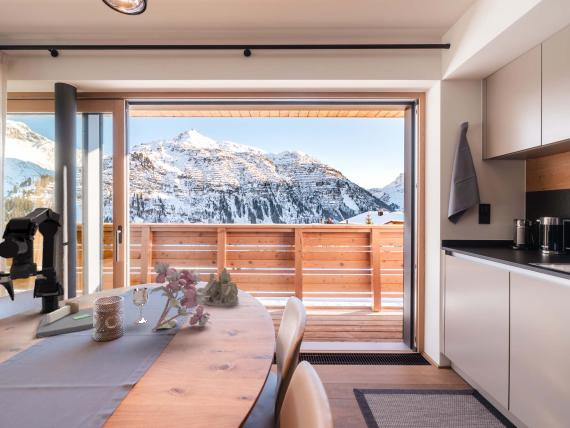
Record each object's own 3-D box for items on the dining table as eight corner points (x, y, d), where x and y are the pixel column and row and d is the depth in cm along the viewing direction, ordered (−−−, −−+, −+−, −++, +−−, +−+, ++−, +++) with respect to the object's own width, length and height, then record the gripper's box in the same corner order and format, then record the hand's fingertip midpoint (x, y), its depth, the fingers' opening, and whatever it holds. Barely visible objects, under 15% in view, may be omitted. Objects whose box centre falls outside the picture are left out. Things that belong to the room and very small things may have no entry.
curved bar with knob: (70, 310, 125) (69, 300, 125) (81, 310, 125) (81, 300, 125) (42, 324, 110) (42, 313, 110) (55, 324, 110) (54, 312, 110)
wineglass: (142, 324, 114) (142, 291, 114) (128, 323, 115) (128, 290, 115) (152, 318, 119) (152, 287, 119) (139, 317, 120) (138, 286, 120)
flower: (165, 344, 93) (197, 265, 100) (123, 322, 104) (155, 254, 112) (208, 349, 108) (233, 281, 116) (167, 330, 120) (193, 269, 128)
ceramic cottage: (200, 298, 146) (201, 267, 145) (235, 296, 151) (237, 266, 150) (202, 310, 131) (203, 275, 130) (241, 308, 136) (242, 274, 135)
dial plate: (44, 318, 121) (44, 313, 121) (92, 311, 129) (92, 306, 129) (36, 337, 102) (36, 332, 102) (94, 327, 111) (93, 322, 111)
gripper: (-21, 259, 96) (-20, 310, 96) (54, 254, 106) (55, 300, 106) (-12, 255, 105) (-11, 301, 106) (57, 251, 115) (57, 293, 116)
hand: (23, 299), depth 108 cm, fingers open, 5 cm apart
